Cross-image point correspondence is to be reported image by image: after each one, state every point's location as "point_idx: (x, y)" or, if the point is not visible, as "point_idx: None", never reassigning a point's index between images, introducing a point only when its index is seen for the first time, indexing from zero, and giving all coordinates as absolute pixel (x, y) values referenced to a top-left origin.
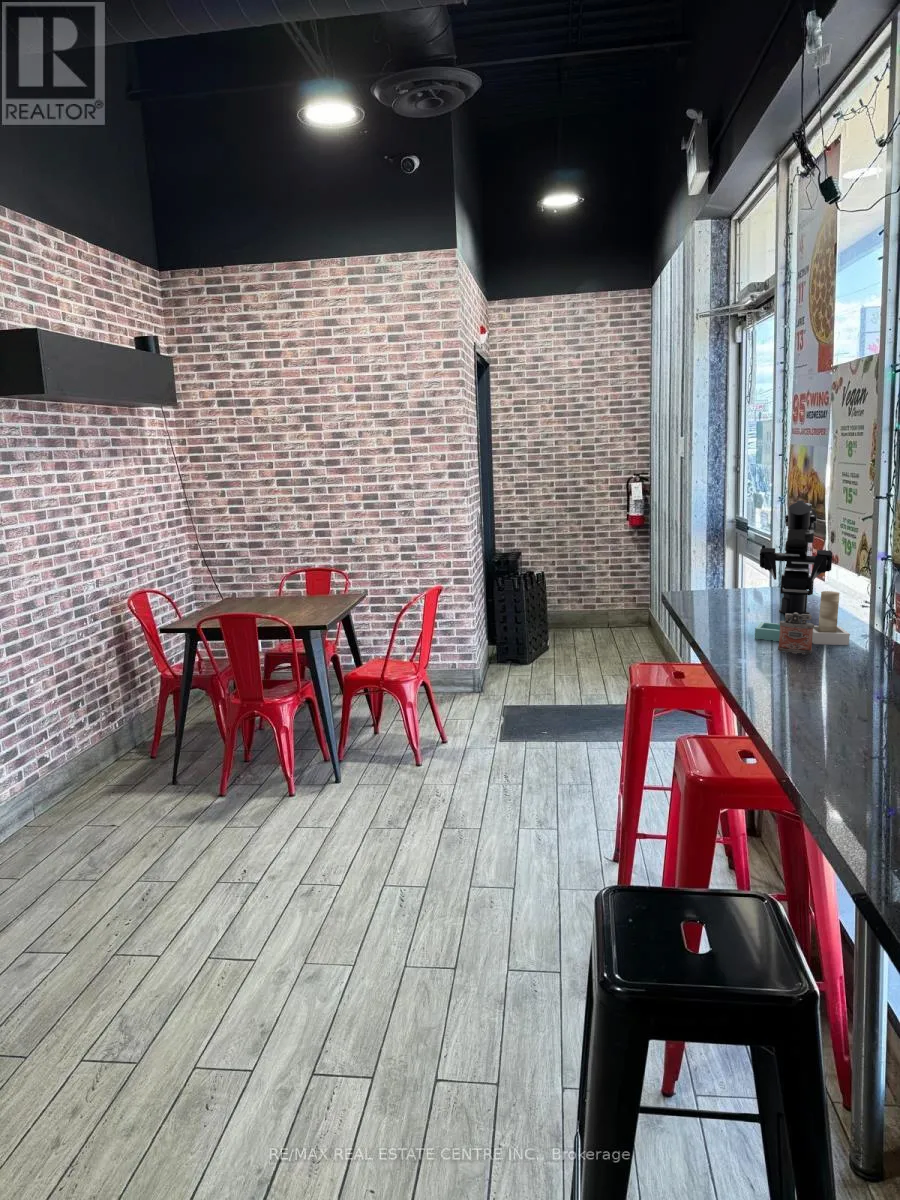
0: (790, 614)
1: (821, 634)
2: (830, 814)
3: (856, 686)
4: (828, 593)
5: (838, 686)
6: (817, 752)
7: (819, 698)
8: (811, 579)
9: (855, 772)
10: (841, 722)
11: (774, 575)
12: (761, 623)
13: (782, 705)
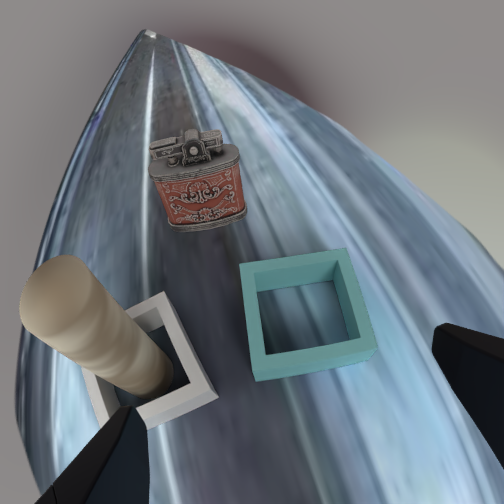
0: (205, 132)
1: (146, 301)
2: (154, 35)
3: (111, 128)
4: (61, 269)
5: (132, 118)
6: (157, 50)
7: (154, 90)
8: (127, 408)
9: (140, 50)
10: (139, 73)
11: (455, 326)
12: (365, 322)
13: (186, 70)
